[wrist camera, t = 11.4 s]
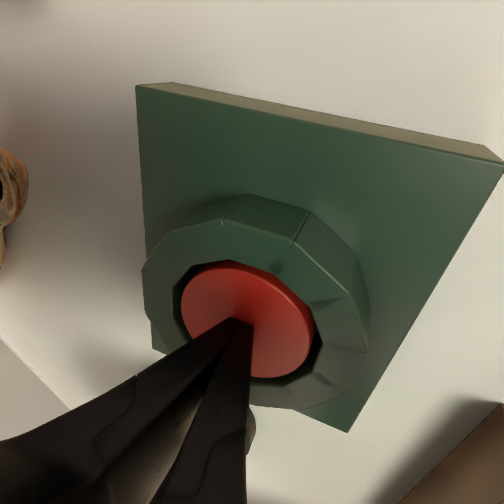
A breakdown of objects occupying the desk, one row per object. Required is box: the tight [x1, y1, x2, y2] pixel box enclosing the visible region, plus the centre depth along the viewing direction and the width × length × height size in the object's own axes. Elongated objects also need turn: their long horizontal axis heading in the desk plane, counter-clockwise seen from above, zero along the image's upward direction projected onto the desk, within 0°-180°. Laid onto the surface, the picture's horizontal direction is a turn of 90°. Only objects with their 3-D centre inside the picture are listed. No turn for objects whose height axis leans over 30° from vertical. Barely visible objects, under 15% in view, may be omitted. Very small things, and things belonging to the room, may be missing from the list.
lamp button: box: [181, 259, 316, 378], centre depth 11 cm, size 4×4×2 cm
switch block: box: [135, 82, 504, 433], centre depth 11 cm, size 12×10×4 cm
